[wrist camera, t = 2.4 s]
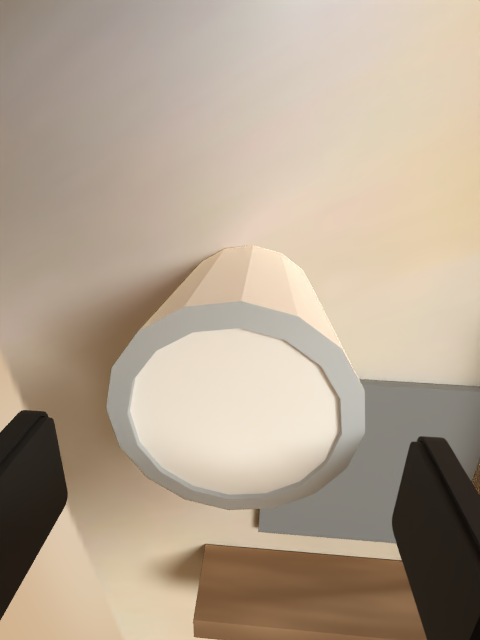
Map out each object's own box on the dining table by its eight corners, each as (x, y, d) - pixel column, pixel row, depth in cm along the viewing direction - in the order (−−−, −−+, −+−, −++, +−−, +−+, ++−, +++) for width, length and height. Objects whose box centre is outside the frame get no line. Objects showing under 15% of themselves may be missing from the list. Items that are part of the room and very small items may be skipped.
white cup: (168, 373, 19) (114, 501, 12) (164, 222, 15) (90, 290, 9) (319, 386, 18) (343, 525, 12) (345, 235, 15) (396, 316, 9)
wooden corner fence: (199, 251, 16) (177, 288, 12) (658, 271, 15) (780, 318, 11) (205, 560, 24) (194, 637, 21) (500, 586, 23) (541, 671, 20)
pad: (268, 373, 18) (268, 379, 18) (500, 388, 18) (505, 393, 17) (258, 525, 23) (258, 531, 22) (443, 540, 22) (446, 547, 22)
